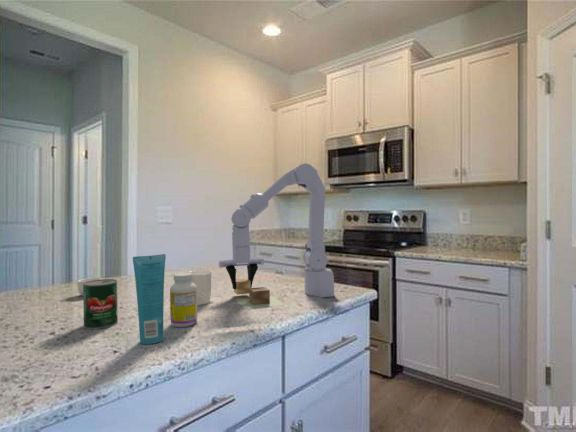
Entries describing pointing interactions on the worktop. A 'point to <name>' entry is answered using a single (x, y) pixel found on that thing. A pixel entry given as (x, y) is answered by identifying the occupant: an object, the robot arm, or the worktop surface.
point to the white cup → (202, 285)
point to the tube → (150, 296)
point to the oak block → (242, 286)
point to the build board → (248, 305)
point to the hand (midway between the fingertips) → (242, 287)
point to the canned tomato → (100, 303)
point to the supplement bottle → (183, 301)
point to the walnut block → (259, 295)
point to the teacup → (80, 282)
